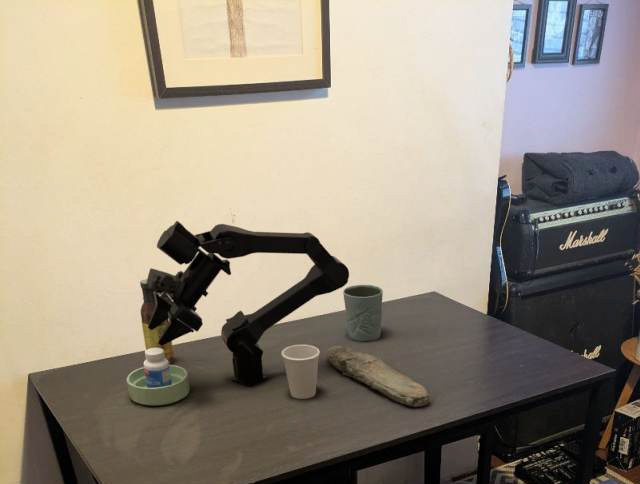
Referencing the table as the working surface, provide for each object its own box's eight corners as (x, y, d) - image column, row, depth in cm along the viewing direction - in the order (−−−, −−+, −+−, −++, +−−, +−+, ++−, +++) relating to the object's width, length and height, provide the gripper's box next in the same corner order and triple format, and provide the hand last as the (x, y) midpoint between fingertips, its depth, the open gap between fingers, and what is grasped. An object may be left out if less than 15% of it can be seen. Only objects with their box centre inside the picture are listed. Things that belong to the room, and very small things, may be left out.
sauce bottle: (168, 368, 185) (154, 286, 173) (143, 366, 186) (128, 284, 174) (179, 358, 190) (167, 278, 179) (155, 356, 191) (142, 276, 180)
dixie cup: (305, 382, 179) (303, 341, 173) (329, 393, 174) (327, 351, 168) (276, 393, 174) (273, 351, 168) (300, 405, 169) (297, 362, 163)
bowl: (202, 392, 174) (199, 373, 171) (156, 413, 165) (152, 393, 163) (164, 377, 180) (161, 359, 178) (118, 396, 172) (114, 378, 169)
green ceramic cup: (382, 342, 199) (382, 297, 192) (343, 342, 199) (342, 296, 192) (382, 328, 207) (383, 284, 200) (345, 328, 207) (344, 284, 201)
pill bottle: (143, 394, 171) (135, 353, 166) (157, 385, 176) (150, 344, 170) (163, 398, 170) (156, 357, 164) (178, 389, 174) (171, 348, 168)
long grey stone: (405, 419, 166) (439, 409, 171) (407, 397, 163) (442, 387, 168) (314, 360, 188) (347, 352, 193) (314, 339, 185) (348, 332, 190)
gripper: (155, 242, 164) (113, 301, 167) (178, 268, 151) (132, 331, 153) (196, 273, 172) (156, 328, 174) (221, 300, 158) (177, 360, 161)
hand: (154, 336), depth 166 cm, fingers open, 9 cm apart
